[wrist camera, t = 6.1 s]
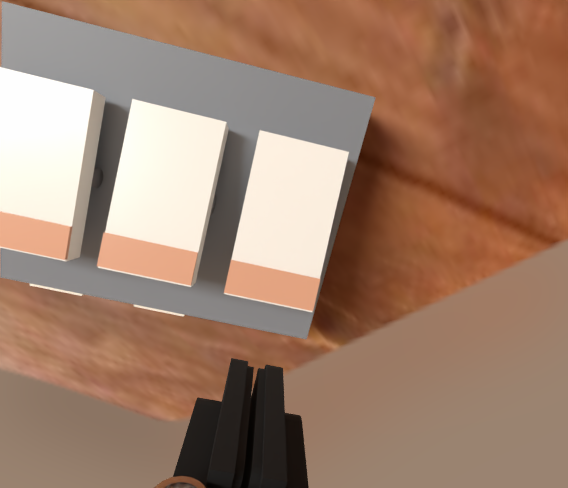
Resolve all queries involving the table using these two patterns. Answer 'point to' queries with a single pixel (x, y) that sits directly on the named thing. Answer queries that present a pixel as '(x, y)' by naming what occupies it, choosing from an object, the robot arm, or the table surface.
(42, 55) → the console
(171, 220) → the rocker
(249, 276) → the block
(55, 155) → the block
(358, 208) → the table surface
